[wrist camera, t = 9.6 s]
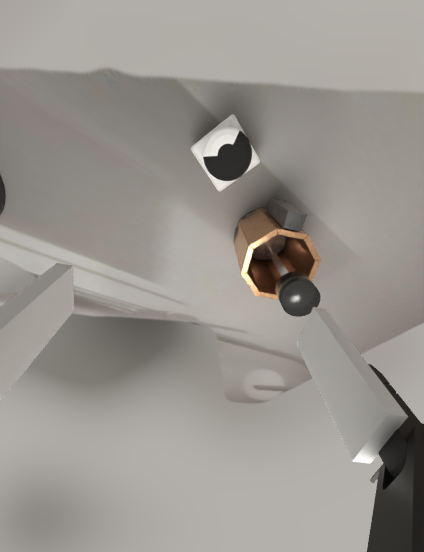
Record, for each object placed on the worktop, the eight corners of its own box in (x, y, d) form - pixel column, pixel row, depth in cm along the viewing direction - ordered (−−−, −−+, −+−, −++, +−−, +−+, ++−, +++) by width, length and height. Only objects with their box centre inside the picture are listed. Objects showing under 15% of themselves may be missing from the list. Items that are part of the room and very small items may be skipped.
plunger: (238, 254, 48) (256, 323, 28) (248, 213, 45) (277, 260, 25) (277, 261, 49) (321, 334, 29) (290, 222, 46) (350, 274, 26)
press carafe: (228, 257, 50) (234, 293, 37) (245, 190, 44) (258, 205, 32) (280, 267, 50) (303, 305, 38) (302, 203, 45) (338, 222, 33)
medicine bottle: (254, 160, 42) (268, 163, 32) (218, 187, 44) (220, 197, 33) (230, 119, 40) (236, 106, 29) (192, 148, 42) (186, 147, 31)
